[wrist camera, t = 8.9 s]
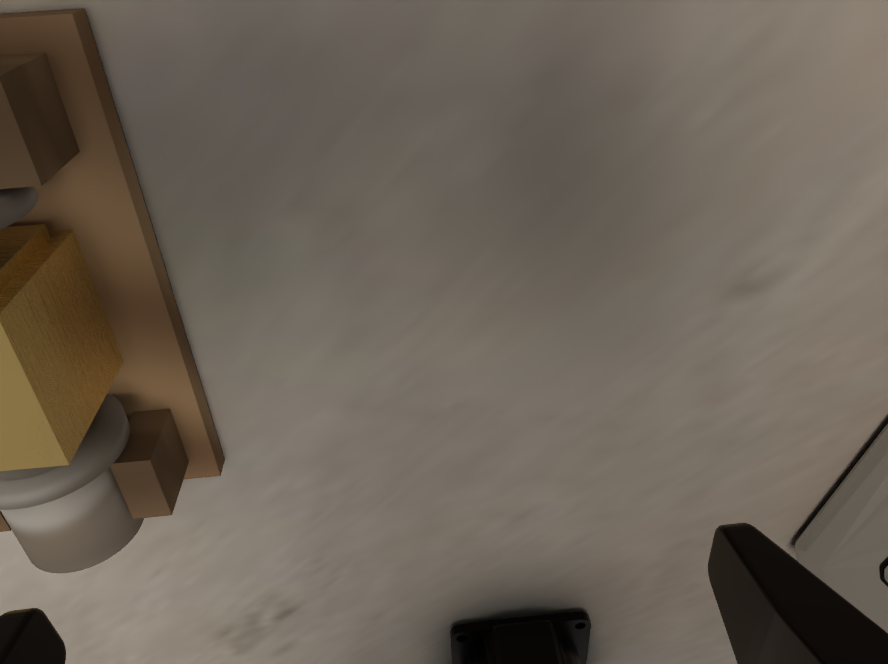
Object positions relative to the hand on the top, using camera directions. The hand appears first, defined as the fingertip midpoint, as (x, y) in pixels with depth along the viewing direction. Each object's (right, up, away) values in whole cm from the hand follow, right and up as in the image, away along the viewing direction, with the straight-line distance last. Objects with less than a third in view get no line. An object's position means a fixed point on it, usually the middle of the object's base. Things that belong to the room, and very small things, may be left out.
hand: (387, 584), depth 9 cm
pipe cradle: (-12, +5, +11) cm, 17 cm away
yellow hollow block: (-12, +4, +11) cm, 16 cm away
